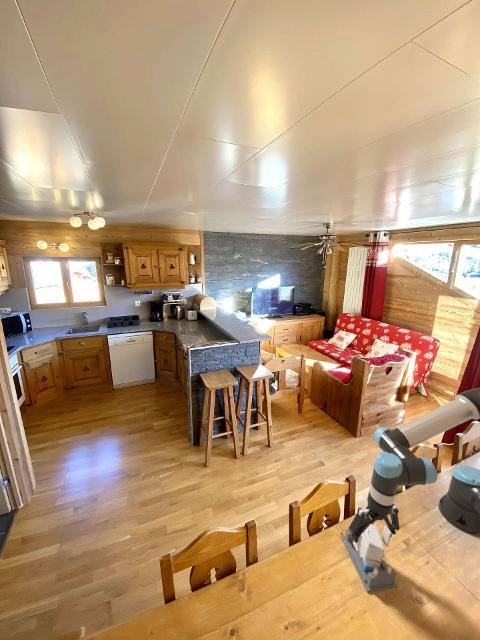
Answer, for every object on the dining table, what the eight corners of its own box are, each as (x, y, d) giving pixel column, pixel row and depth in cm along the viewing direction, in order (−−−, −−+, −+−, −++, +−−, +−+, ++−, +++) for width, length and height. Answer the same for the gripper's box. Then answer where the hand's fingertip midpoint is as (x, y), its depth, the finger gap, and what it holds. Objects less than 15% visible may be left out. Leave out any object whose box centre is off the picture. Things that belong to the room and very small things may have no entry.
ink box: (379, 574, 91) (385, 549, 88) (364, 571, 92) (369, 547, 89) (371, 548, 100) (376, 524, 97) (357, 545, 100) (362, 522, 97)
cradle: (366, 534, 105) (369, 520, 103) (396, 587, 89) (401, 571, 87) (341, 538, 103) (343, 523, 101) (367, 592, 87) (370, 576, 85)
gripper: (403, 483, 94) (392, 530, 99) (343, 489, 90) (335, 537, 96) (420, 503, 86) (407, 552, 92) (355, 510, 83) (346, 561, 89)
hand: (370, 545), depth 94 cm, fingers open, 10 cm apart
